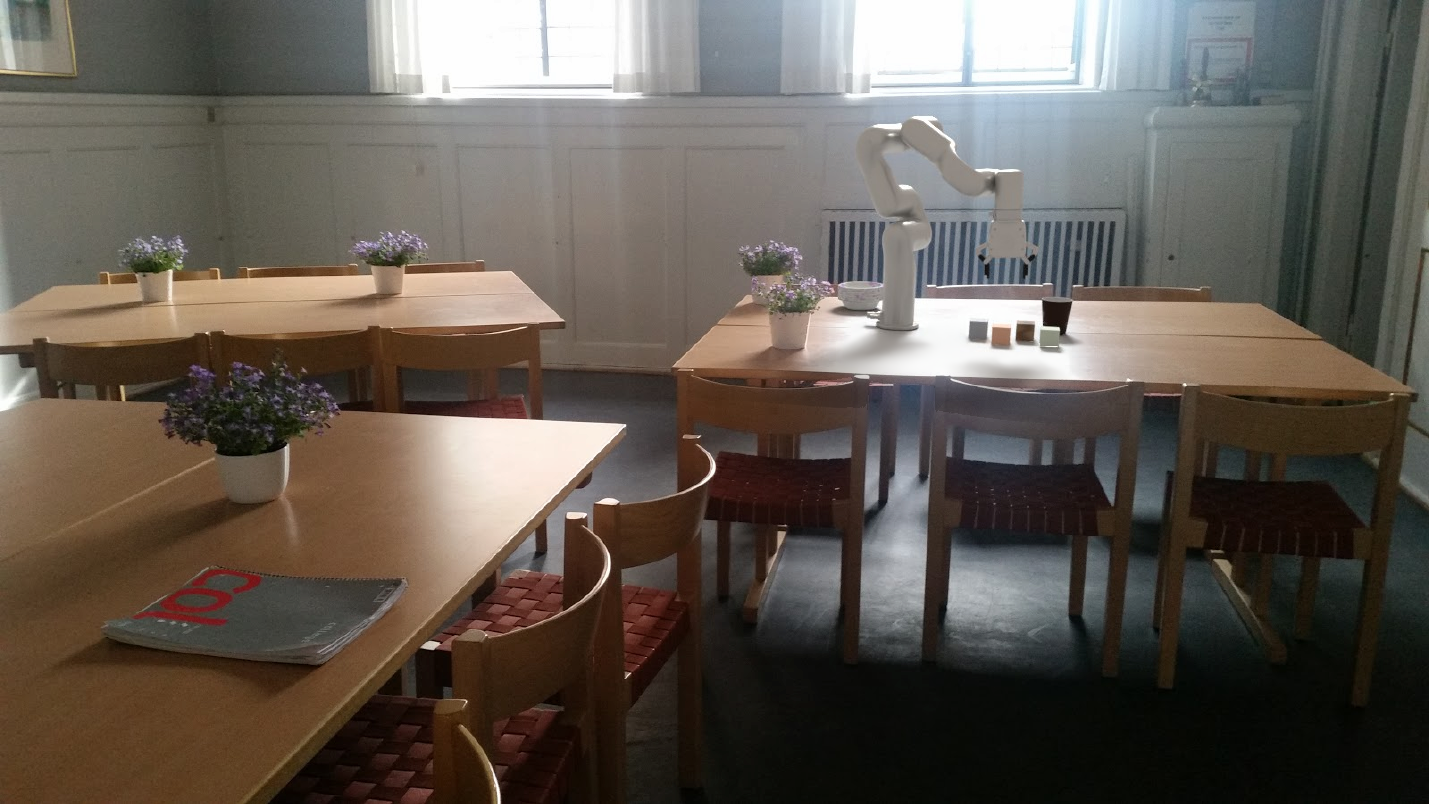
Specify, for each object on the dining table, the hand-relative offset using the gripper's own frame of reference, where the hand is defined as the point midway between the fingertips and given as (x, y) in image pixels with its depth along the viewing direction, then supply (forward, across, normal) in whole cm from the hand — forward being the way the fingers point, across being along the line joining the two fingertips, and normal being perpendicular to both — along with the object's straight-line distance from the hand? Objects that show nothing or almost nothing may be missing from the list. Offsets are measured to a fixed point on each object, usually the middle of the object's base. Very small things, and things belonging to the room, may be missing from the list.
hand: (1005, 278), depth 307 cm
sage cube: (+19, +12, -1) cm, 22 cm away
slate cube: (+18, -7, +7) cm, 20 cm away
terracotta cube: (+18, -1, 0) cm, 18 cm away
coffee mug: (+19, +15, +19) cm, 31 cm away
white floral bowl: (+16, -46, +43) cm, 65 cm away
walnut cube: (+18, +6, +6) cm, 20 cm away
